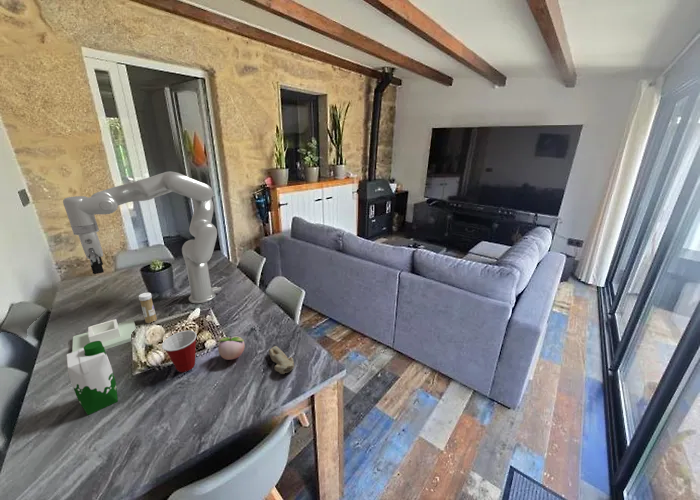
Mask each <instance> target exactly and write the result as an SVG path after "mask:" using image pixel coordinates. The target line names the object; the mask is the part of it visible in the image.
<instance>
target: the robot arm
mask: <svg viewBox="0 0 700 500" xmlns="http://www.w3.org/2000/svg"><path fill="white" fill-rule="evenodd" d="M172 192H173V193H176V194H179V195H181V196H183V197H187V198H189V199H192V202H193V212H192V217H191V221H190V224H189V233H190V235H191V236H192V237H194V239H189V240H187V241H185V242H184V243H183V245H182V247H181V253H182V257H183V260H184V263H185V267H186V274H187V278H188V283H189V284H188V285H189V289H190V296H189V297H188V301H189V302H190V303H192V304H204V303H207V302H209V301H212V300H213V299H214V298H215V297H216V292H220V291H222V287H221V286H219V287H218V286H214V287H213V286H211V285H212V284H211V279H210V278H211V277H210V272H209V265H208V263H209V261H210V259H211V258H212V256H213V253H214V249H215V246H216V242H217V238H218V237H217V236H218V229H217V227H216V225H214V224H213V222H212V219H213V216H214V207H215V205H214V203H213V196H214V191H213V188H212V187H211V186H210V185H209V184H207V183H205V182H202V181H199V180H197V179H194V178H191V177H189V176H187V175H184V174H182V173H180V172H178V171H177V172H175V171H164V172H162V173H158V174H155V175H153V176H149V177H146V178H142V179H140V180H135V181H132V182H128V183H125V184H121V185H117V186H113V187H110V188H106V189H104V190H100V191H97V192H95V193H94V194H92V195H91V196H90V197H88V196H83V195H80V196H79V195H78V196H77V195H76V196H68V197H65V198H64V199H63V201H62V203H63V206H64V209H65V212H66V215H67V216H66V217H67V219H68V221H69V225H70V228H71V229H72V233H73V235H74V236H78V238H79V241H80V243H81V247H82V250H83V252H84V254H85V257H86V259H87V260H89V262H90V267H91V268H90V269H91V270H92V274H93V275H97V274H102V273H104V268H103V265H104V263H103V259H102V258H103V256H104V251H103V248H102V245H101V242H100V238H99V235H98V232H99V231H100V229H99V225H98V222H97V219H96V216H95V215H110V214H113V213H115V212H116V211H117V210H118V208H119V206H121V205H124V204H128V203H131V202H145V201H149V200H153V199H155V198H158V197H161V196H163V195H167V194H169V193H172Z"/></svg>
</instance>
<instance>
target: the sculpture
mask: <svg viewBox="0 0 700 500" xmlns="http://www.w3.org/2000/svg"><path fill="white" fill-rule="evenodd" d="M268 354H269V356H270V359H271V361H272V362H274V363H275V364H276V365H274V371H275V372H277V373H279V374H281V375H286V374H287V373H290V372H291V371H292V370H294V368H295V362H294V358H293V357H291V356H290V357H288V356H287V355H286V353H284V351H282V349H281V348H280V347H278V346H277V345H274V346H273V347H271V348H270V349H269V350H268ZM285 373H286V374H285Z"/></svg>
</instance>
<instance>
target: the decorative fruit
mask: <svg viewBox="0 0 700 500" xmlns="http://www.w3.org/2000/svg"><path fill="white" fill-rule="evenodd" d="M217 342H219V344H218V348H217V349H218V350H217V351H218V353H219V356H220V357H221V358H222V359H224V360H229V361H231V360H235V359H237V358H238V359H239V357H240V356H241V355H242V354H243V353H244V351H245V345H246V344H245V340H244V338H243V337H240V336H237V335H235V336H232V337H231V335H229V336H228V337H226V336H225V337H224V336H223V337H222V338H220V339H219V340H217Z"/></svg>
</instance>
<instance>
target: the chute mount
mask: <svg viewBox="0 0 700 500" xmlns="http://www.w3.org/2000/svg"><path fill="white" fill-rule="evenodd" d="M135 329H136V330H137V327H136V324H135V320H134V319H133V318H132V319H131V318H130V319H128V320H126V321H125V320H124V321H122V322H118V321H117V318H115V319H114V318H113V319H111V320H107V321H105V322H100V323H97V324H94V325H89V326H88V327H87V330H88V331H87V332H84V333H80V334H77V335H74V336H72V349H71V350H72V351H71V353H72V352H75V351H78V350H79V349H82V348H84V346H85V345H87V344H88V343H91V342H94V341H101V342H102V345H103V347H104V348H105V351H106V350H108V349H112V348H114V347H118V346H122V345H125V344H127V343H130V342H132V341H131V334H132V332H133V331H134V330H135Z"/></svg>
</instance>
